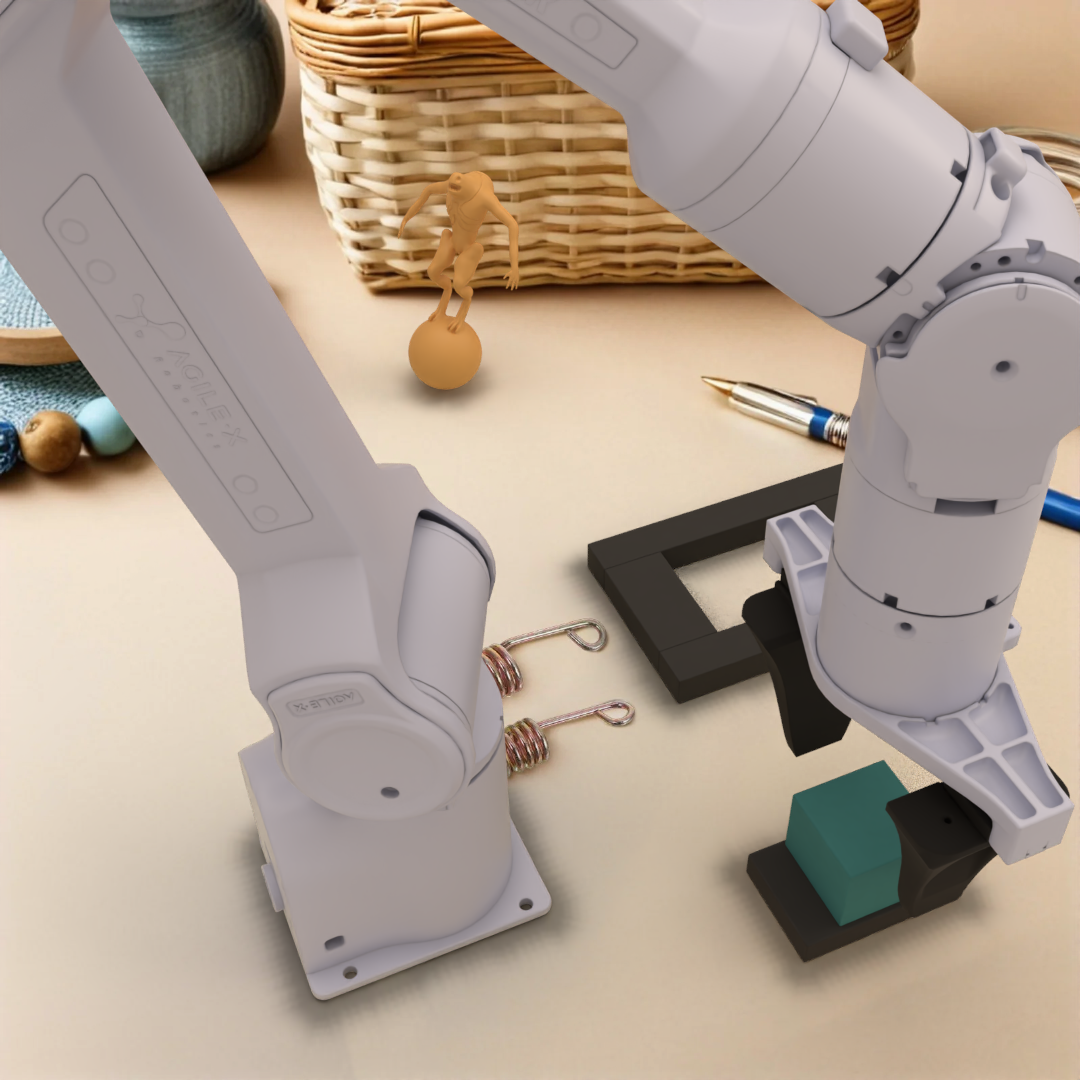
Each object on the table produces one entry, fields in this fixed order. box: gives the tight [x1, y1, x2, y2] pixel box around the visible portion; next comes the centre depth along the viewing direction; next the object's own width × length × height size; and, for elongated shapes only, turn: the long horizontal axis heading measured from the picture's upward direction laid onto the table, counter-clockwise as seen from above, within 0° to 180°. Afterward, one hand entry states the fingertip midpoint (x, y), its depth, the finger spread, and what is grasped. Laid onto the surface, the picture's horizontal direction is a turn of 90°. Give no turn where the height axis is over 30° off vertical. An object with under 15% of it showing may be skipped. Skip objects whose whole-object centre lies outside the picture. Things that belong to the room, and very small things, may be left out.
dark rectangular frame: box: [587, 462, 843, 704], centre depth 67 cm, size 14×9×2 cm
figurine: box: [397, 170, 520, 391], centre depth 76 cm, size 8×6×12 cm
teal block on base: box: [745, 759, 964, 964], centre depth 54 cm, size 7×4×4 cm, turn 113°
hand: (869, 817), depth 53 cm, fingers open, 7 cm apart
